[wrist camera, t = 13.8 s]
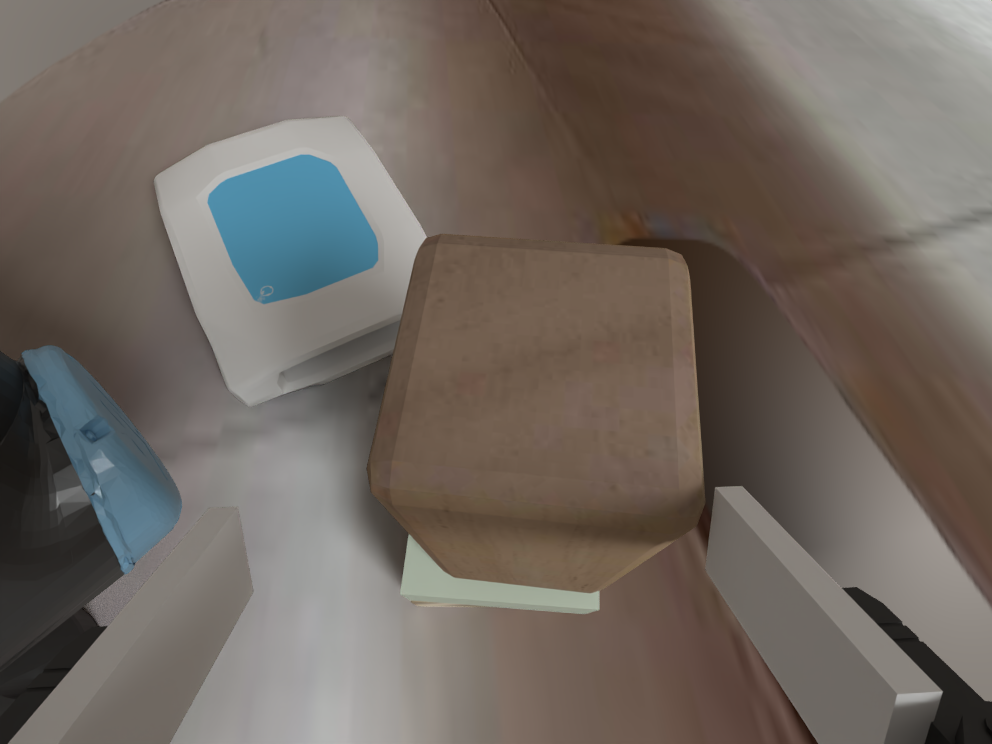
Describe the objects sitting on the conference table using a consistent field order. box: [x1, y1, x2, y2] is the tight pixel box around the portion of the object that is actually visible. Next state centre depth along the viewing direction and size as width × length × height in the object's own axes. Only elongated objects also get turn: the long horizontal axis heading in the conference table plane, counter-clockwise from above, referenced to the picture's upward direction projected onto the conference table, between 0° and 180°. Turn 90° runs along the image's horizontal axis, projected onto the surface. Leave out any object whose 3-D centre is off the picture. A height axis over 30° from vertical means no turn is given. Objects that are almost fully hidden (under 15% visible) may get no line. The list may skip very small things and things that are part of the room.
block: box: [367, 234, 705, 593], centre depth 26 cm, size 10×10×20 cm
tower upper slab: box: [400, 534, 599, 614], centre depth 37 cm, size 12×12×5 cm
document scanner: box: [153, 116, 427, 408], centre depth 53 cm, size 21×28×6 cm
